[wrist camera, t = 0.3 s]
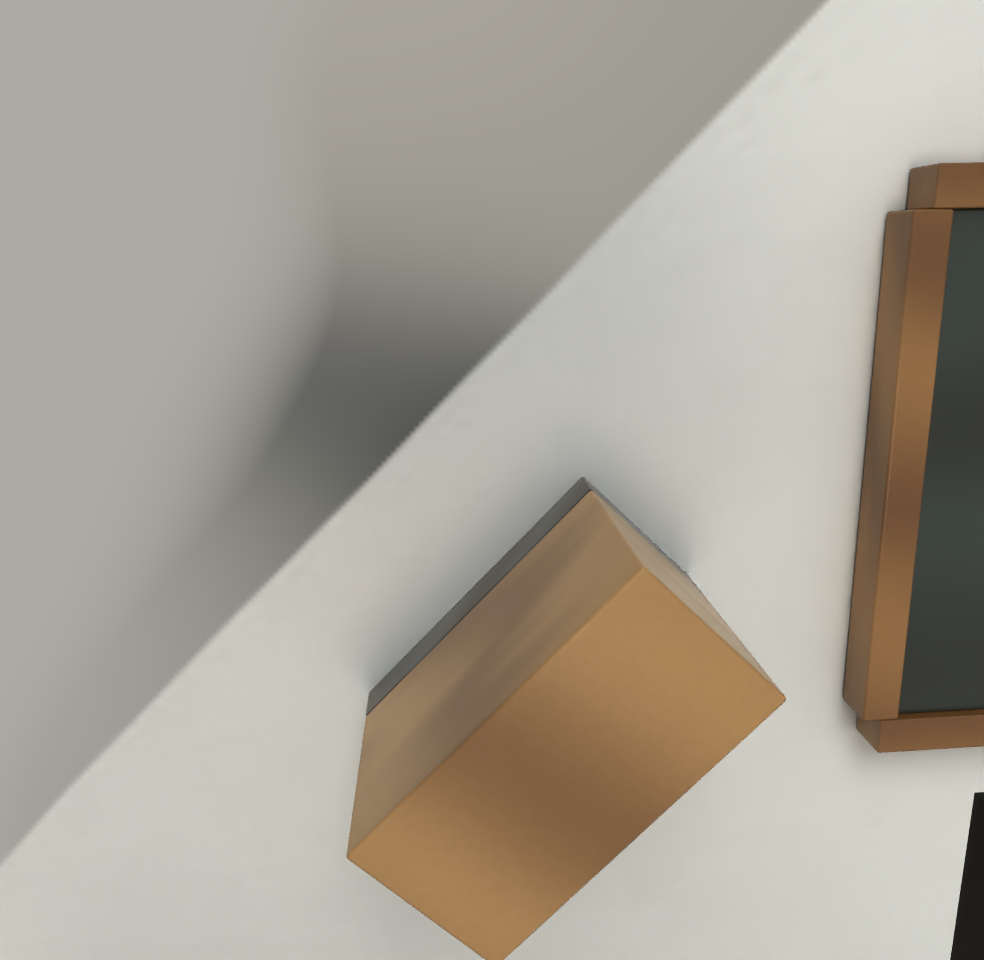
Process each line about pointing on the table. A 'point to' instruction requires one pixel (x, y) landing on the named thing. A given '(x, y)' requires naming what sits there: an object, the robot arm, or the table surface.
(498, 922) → the eraser
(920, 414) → the slate board
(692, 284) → the table surface
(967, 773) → the table surface
